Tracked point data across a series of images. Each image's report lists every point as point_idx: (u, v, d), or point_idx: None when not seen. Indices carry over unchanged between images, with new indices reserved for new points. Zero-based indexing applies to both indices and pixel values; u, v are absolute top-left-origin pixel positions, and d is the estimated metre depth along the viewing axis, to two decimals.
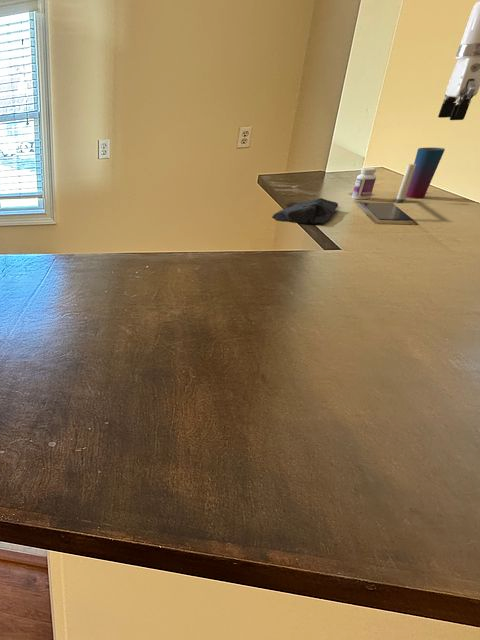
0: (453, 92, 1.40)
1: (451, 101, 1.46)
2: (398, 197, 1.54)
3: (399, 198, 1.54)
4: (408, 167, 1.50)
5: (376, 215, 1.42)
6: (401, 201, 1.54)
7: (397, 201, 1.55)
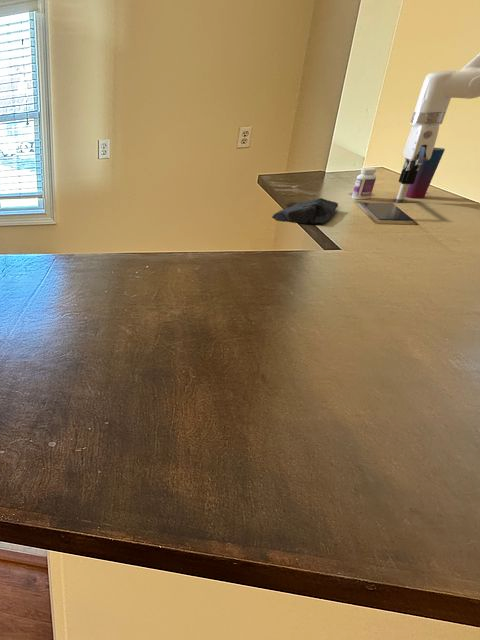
0: (409, 156, 1.47)
1: None
2: (398, 197, 1.54)
3: (399, 198, 1.54)
4: None
5: (376, 215, 1.42)
6: (401, 201, 1.54)
7: (397, 201, 1.55)
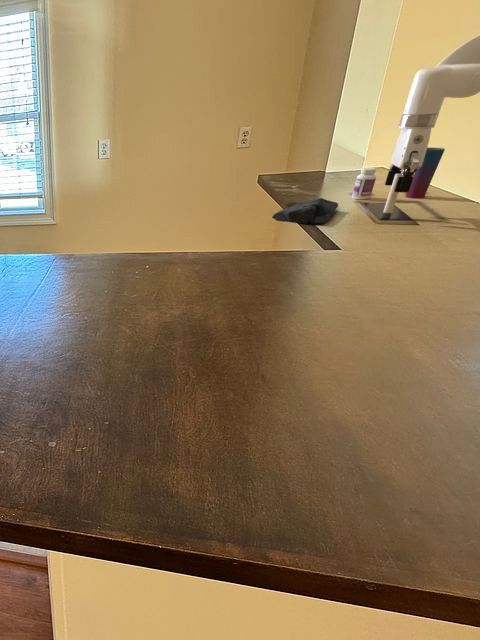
0: (397, 163, 1.31)
1: (397, 169, 1.37)
2: (385, 210, 1.38)
3: (386, 211, 1.38)
4: (396, 177, 1.34)
5: (376, 215, 1.42)
6: (388, 215, 1.38)
7: (384, 215, 1.39)
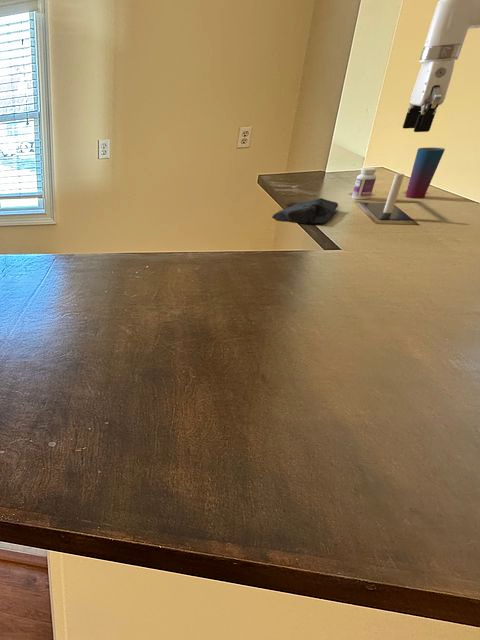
0: (417, 101, 1.23)
1: (416, 110, 1.29)
2: (385, 210, 1.38)
3: (386, 211, 1.38)
4: (396, 177, 1.34)
5: (376, 215, 1.42)
6: (388, 215, 1.38)
7: (384, 215, 1.39)
